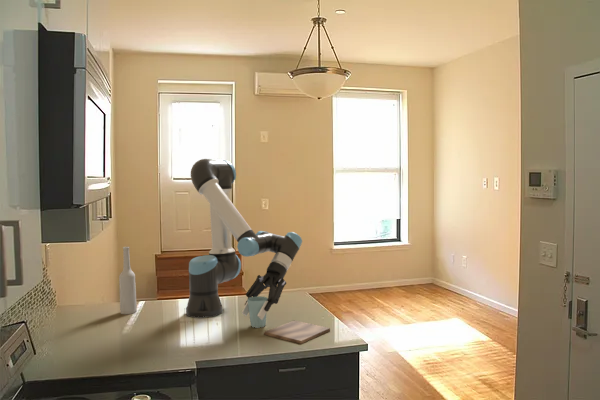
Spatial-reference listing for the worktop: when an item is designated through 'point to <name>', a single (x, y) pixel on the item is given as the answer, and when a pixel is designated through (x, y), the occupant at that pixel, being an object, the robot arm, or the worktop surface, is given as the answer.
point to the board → (297, 331)
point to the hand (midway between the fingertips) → (251, 315)
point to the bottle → (127, 286)
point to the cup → (256, 311)
